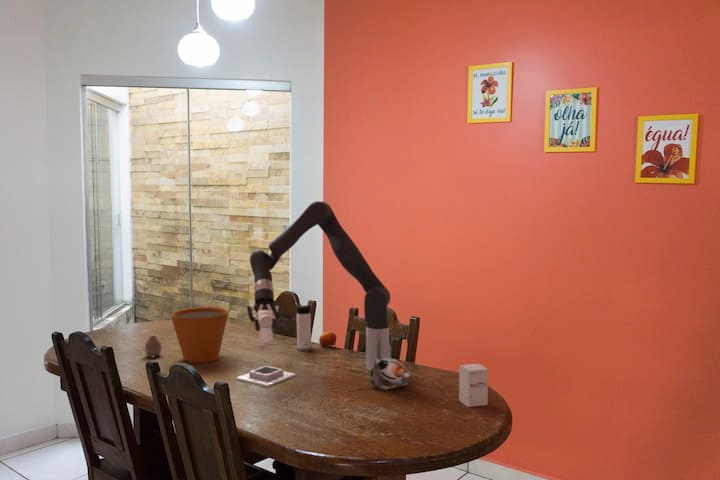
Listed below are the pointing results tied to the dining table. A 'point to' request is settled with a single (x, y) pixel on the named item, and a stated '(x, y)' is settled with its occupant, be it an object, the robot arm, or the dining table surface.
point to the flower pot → (200, 332)
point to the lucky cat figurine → (389, 374)
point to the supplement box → (473, 385)
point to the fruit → (327, 339)
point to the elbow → (265, 326)
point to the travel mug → (304, 328)
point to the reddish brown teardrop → (153, 347)
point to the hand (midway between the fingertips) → (265, 329)
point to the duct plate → (266, 376)
